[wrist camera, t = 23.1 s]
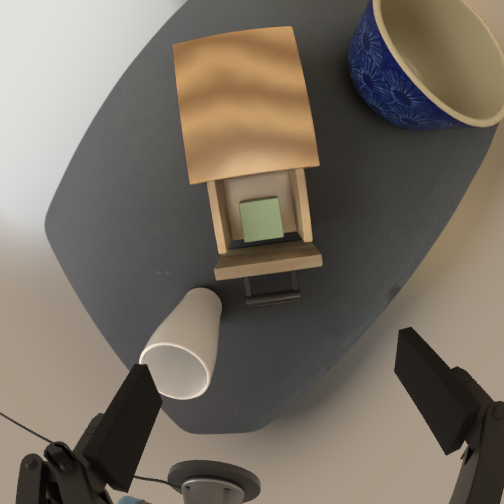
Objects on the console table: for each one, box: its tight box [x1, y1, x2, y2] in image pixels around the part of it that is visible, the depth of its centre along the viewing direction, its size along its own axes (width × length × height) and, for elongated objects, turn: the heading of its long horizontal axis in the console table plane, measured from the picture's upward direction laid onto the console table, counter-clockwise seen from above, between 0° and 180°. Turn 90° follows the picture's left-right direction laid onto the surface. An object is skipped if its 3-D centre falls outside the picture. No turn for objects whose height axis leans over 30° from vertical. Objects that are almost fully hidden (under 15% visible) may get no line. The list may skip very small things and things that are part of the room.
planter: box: [348, 0, 504, 131], centre depth 22 cm, size 17×17×15 cm
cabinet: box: [173, 26, 320, 185], centre depth 27 cm, size 15×12×9 cm
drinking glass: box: [139, 288, 222, 399], centre depth 30 cm, size 7×7×15 cm
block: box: [239, 196, 284, 242], centre depth 30 cm, size 4×4×4 cm
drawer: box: [207, 168, 322, 308], centre depth 30 cm, size 18×10×7 cm, turn 9°
